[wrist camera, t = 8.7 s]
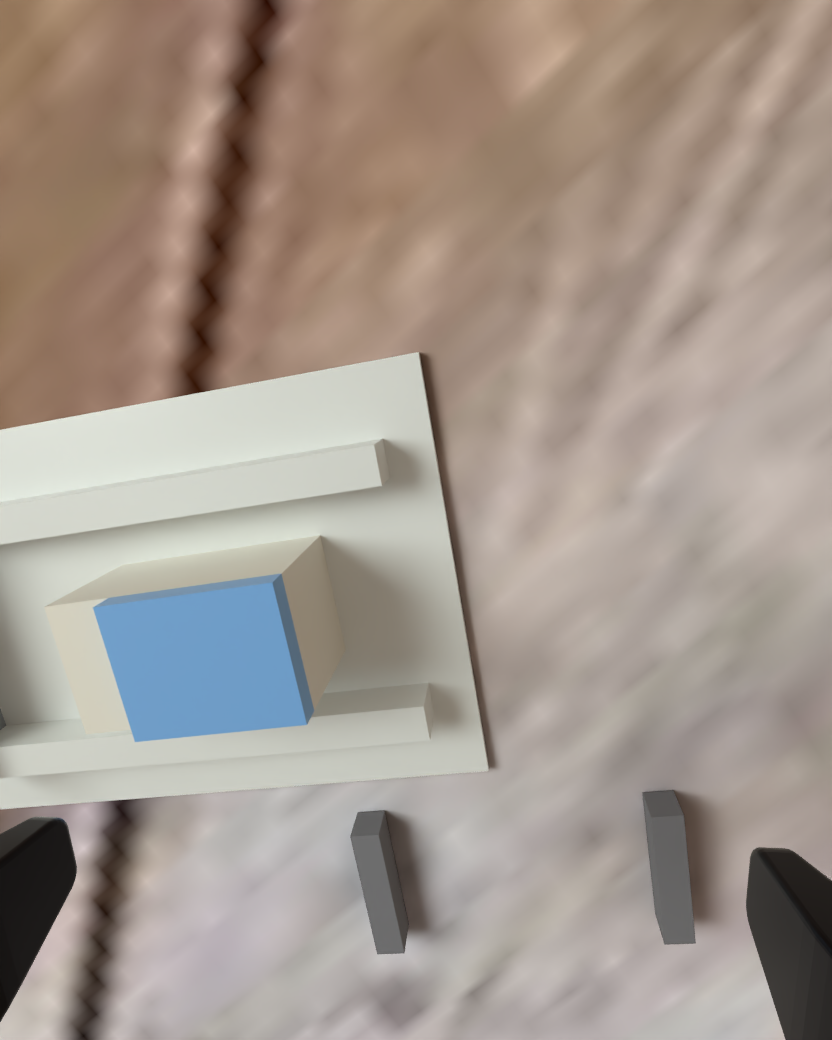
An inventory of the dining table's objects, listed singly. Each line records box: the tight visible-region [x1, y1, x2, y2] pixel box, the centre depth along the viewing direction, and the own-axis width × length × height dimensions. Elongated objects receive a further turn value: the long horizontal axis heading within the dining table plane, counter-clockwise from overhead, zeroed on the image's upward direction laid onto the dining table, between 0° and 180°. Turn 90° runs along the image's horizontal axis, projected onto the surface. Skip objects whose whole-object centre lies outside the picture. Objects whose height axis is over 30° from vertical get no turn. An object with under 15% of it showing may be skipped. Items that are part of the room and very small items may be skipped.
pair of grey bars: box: [351, 790, 696, 954], centre depth 22 cm, size 5×11×1 cm, turn 100°
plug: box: [44, 535, 346, 742], centre depth 19 cm, size 4×7×4 cm, turn 101°
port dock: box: [0, 352, 489, 809], centre depth 20 cm, size 14×19×3 cm
